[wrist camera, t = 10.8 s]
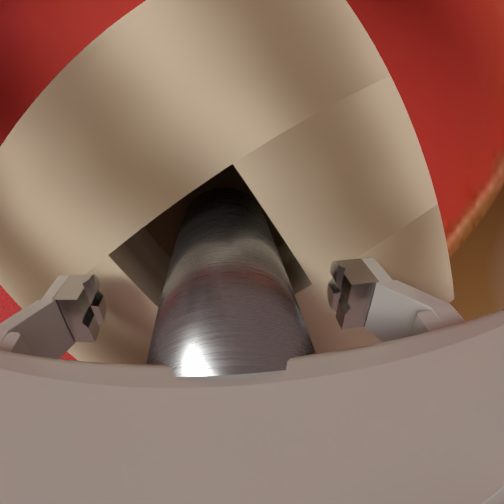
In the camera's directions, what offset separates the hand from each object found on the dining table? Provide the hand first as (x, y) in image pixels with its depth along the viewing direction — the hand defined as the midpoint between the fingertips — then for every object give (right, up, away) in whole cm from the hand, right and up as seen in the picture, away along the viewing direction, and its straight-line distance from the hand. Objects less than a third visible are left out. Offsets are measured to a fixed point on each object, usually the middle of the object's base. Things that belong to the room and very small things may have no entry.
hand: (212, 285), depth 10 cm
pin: (0, +2, +4) cm, 5 cm away
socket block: (-1, +3, +5) cm, 6 cm away
